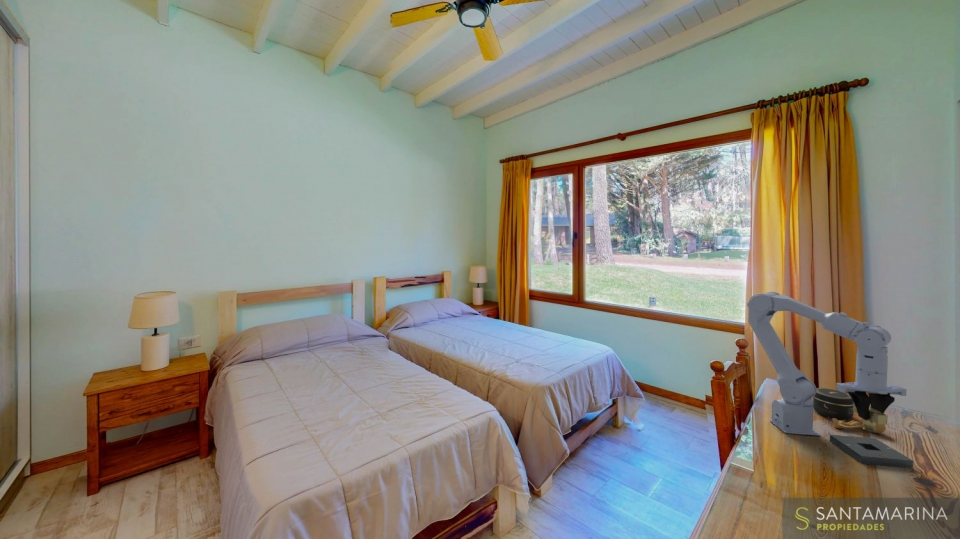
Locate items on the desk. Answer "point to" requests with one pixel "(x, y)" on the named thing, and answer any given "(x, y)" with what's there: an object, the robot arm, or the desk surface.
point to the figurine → (856, 425)
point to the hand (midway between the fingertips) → (869, 418)
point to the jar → (833, 404)
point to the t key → (873, 419)
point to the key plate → (871, 451)
